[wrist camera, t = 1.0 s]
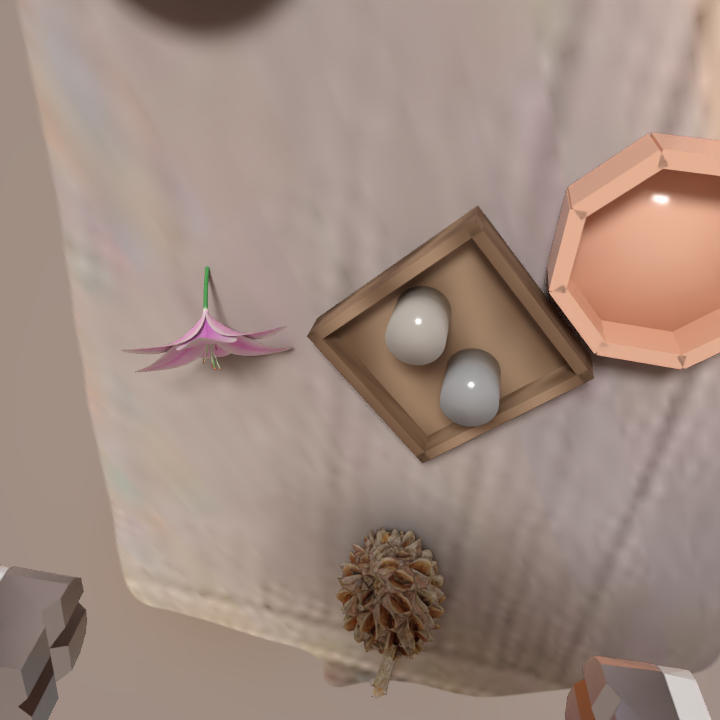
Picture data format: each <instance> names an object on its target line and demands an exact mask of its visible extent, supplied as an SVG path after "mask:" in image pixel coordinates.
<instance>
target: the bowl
mask: <svg viewBox="0 0 720 720" xmlns="http://www.w3.org/2000/svg"><path fill="white" fill-rule="evenodd" d="M547 272H548V287H549V293H550V295H551V296H552V297H553V299H554V300H555V301H556V303H557V304H558V306H559V307H560V308H561V310H562V311H563V312H564V314H565V315H566V316H567V318H568V319H569V320H570V322H571V323H572V324H573V326H574V327H575V328H576V330H577V331H578V332H579V334H580V335H581V336H582V338H583V339H584V340H585V342H586V343H587V345H588V346H589V347H590V349H591V350H592V351H593V353H594V354H595V353H596V355H599V356H605V357H611V358H617V359H623V360H629V361H635V362H641V363H646V364H652V365H658V366H664V367H670V368H676V369H682V367H683V368H684V369H686V368H688V367H690V366H692V365H694V364H696V363H698V362H701V361H703V360H705V359H707V358H709V357H711V356H713V355H715V354H718V353H720V141H716V140H708V139H700V138H692V137H684V136H675V135H667V134H659V133H651V136H650V135H649V134H647V135H645V136H644V137H642V138H641V139H639V140H638V141H636V142H635V143H633V144H632V145H630V146H629V147H627V148H626V149H624V150H623V151H621V152H620V153H618V154H617V155H615V156H614V157H612V158H611V159H609V160H608V161H606V162H605V163H603V164H602V165H600V166H599V167H597V168H596V169H594V170H593V171H591V172H590V173H588V174H587V175H585V176H584V177H582V178H581V179H579V180H578V181H576V182H575V183H573V184H572V185H570V186H569V187H568V189H566V193H565V197H564V201H563V205H562V209H561V213H560V216H559V220H558V224H557V228H556V232H555V236H554V240H553V244H552V248H551V252H550V256H549V260H548V264H547Z"/></svg>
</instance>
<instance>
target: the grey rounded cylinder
mask: <svg viewBox="0 0 720 720" xmlns="http://www.w3.org/2000/svg"><path fill="white" fill-rule="evenodd" d="M500 380H501V369H500V365H499V363H498V361H497V360H496V359H495V357H494V356H492V355H491V354H490V353H488V352H486V351H484V350H481V349H476V348H468V349H463V350H460V351H458V352H456V353H455V354H453V355H452V356H451V357H450V359H449V360H448V362H447V365H446V369H445V374H444V379H443V385H442V390H441V395H440V407H441V409H442V411H443V413H444V414H445V416H446V417H447V418H448V419H450V420H451V421H453V422H454V423H456V424H459V425H462V426H468V427H474V426H480V425H483V424H486V423H487V422H489V421H490V420H492V419H493V418H494V417H495V415H496V414H497V412H498V408H499V396H500Z"/></svg>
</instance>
